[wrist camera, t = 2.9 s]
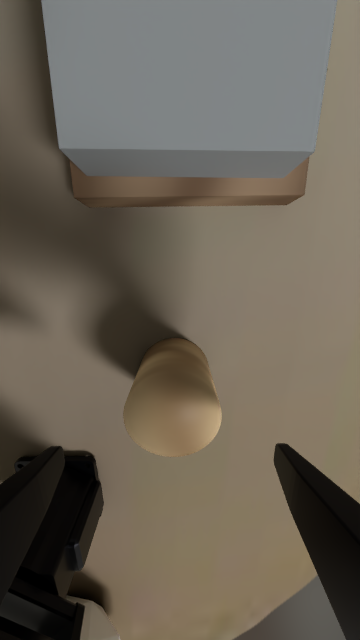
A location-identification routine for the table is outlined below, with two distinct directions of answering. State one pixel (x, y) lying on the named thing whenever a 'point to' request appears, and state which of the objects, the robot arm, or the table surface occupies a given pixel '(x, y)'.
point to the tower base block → (187, 190)
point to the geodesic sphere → (95, 622)
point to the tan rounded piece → (173, 400)
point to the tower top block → (188, 84)
